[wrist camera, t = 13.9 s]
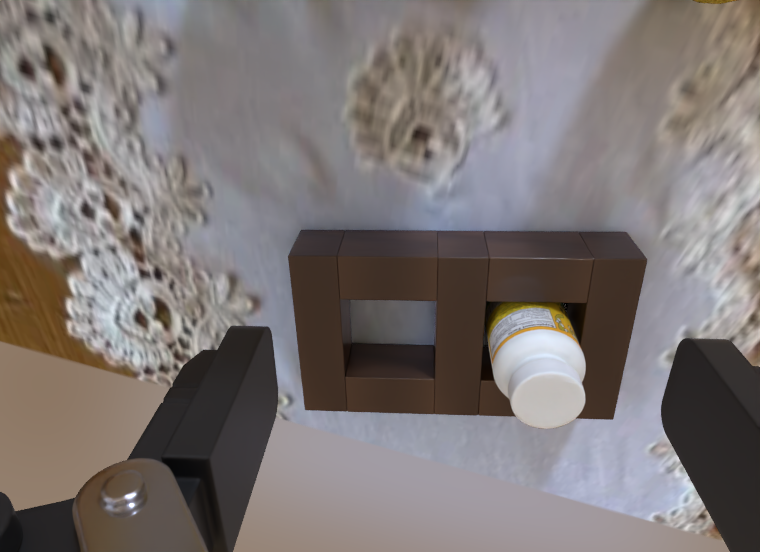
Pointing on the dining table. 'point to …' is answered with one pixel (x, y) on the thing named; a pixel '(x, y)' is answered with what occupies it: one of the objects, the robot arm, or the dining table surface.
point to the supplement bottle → (536, 361)
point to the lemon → (714, 1)
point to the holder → (456, 313)
